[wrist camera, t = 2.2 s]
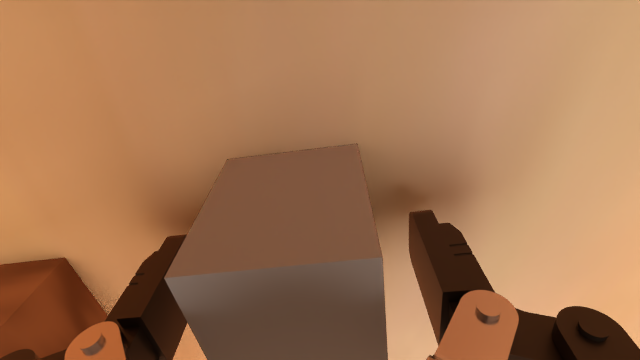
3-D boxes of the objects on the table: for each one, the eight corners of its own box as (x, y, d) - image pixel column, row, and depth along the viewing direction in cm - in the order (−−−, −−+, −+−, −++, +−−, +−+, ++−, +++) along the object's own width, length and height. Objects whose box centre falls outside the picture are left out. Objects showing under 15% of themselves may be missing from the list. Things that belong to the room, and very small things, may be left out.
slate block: (227, 158, 13) (164, 277, 8) (357, 142, 12) (382, 257, 7) (257, 254, 15) (224, 392, 10) (365, 243, 15) (389, 381, 10)
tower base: (-68, 270, 16) (-190, 361, 12) (67, 255, 16) (-17, 345, 12) (20, 354, 20) (-53, 445, 16) (132, 344, 19) (83, 436, 15)
